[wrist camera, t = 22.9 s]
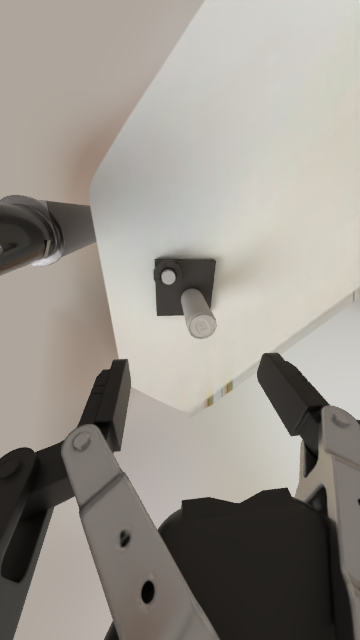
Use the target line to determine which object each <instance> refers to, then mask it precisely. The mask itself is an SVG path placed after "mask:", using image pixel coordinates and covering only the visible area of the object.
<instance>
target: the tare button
mask: <svg viewBox="0 0 360 640" xmlns="http://www.w3.org/2000/svg"><path fill="white" fill-rule="evenodd" d="M161 276H162V281H163V282H164V283H165V284H168V285H169V284H172V283H173V282H174V281H175V273H174V271H173V270H171V269H165V270H164V271H163V272H162V275H161Z"/></svg>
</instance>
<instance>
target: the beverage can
mask: <svg viewBox="0 0 360 640" xmlns="http://www.w3.org/2000/svg"><path fill="white" fill-rule="evenodd" d="M181 304H182V308H183V312H184V316H185V320H186V325H187V328H188V331H189V333H190V334H191V335H192V336H193V337H195V338H198V339H204V338H208V337H209V336H211V335H212V334H213V333H214V332H215V330H216V320H215V317H214V316H213V314H212V312H211V310H210V308H209V306H208V305H207V303H206V301H205V299H204V297H203V295H202V294H201V292H200V291H198V290H197V289H188V290H186V291H185V292H184V293H183V294H182V297H181Z"/></svg>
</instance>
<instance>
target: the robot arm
mask: <svg viewBox="0 0 360 640" xmlns="http://www.w3.org/2000/svg"><path fill="white" fill-rule="evenodd" d="M56 248H57V235H56V231H55V229H54V227H53V225H52V224H51V222H50V221H49V220H48V218H47V217H46V216H45V215H44V214H43V213H41V212H40V211H38V210H37V209H35V208H33V207H31V206H28V205H25V204H5V203H0V275H3V274H6V273H8V272H11V271H13V270H16V269H18V268H21V267H24V266H26V265H29V264H31V263H34V262H37V261H39V260H43V259H46V258H48V257H50V256H51V255H52V254H53V253H54V252H55V250H56ZM257 378H258V381H259V383H260V385H261V387H262V388H263V390H264V392H265V393H266V395H267V397H268V398H269V400H270V402H271V403H272V405H273V407H274V408H275V410H276V412H277V413H278V415H279V417H280V419H281V420H282V422H283V424H284V425H285V427H286V429H287V430H288V432H289V434H290V435H291V436H296V435H300V436H301V438H302V439H303V440H302V442H301V452H300V477H299V484H298V488H297V490H296V494H295V498H294V497H292V496H291V494H290V492H289V490H288V488H281V489H272V490H264V491H261V492H260V493H257V494H256V495H254V496H252V497H250V498H249V499H247V500H245V501H243V502H241V503H233V502H228V501H224V500H219V499H215V498H210V497H207V498H198V499H190V500H183V501H182V506H181V509H179V510H177V511H176V512H174V513H173V514H172V515H170V516H169V517H168V518H167V519H166V520H165V521H164V522H163V523H162V525H161V526H160V527H159V529H158V530H157V529H156V527H155V525H154V523H153V522H152V520H151V518H150V516H149V514H148V513H147V511H146V509H145V507H144V506H143V504H142V502H141V500H140V498H139V496H138V495H137V493H136V491H135V489H134V487H133V486H132V484H131V482H130V480H129V478H128V477H127V475H126V474H125V473H124V472H123V471H122V470H121V468H120V467H119V464H118V462H117V461H116V459H115V457H114V455H113V452H115V451H120V450H121V444H122V438H123V432H124V426H125V419H126V413H127V407H128V401H129V395H130V388H131V377H130V371H129V364H128V359H118V360H113V362H112V366H111V368H110V369H109V370H103V371H102V372H101V373H100V374H99V375H98V376H97V377H96V380H95V383H94V385H93V388H92V390H91V394H90V396H89V399H88V401H87V404H86V406H85V409H84V412H83V414H82V417H81V419H80V422H79V424H78V426H77V428H76V429H74V430H73V431H72V432H71V433H70V434H69V435H68V436H67V437H66V438H65V440H63V441H62V442H60V443H58V444H55V445H53V446H51V447H48V448H45V449H43V450H40V451H37V452H34V451H33V450H32V449H30V448H25V447H24V448H18V449H16V450H13V451H11V452H9V453H7V454H6V455H4V456H3V457H2V458H1V459H0V640H13V638H14V634H15V632H16V628H17V625H18V622H19V619H20V616H21V612H22V609H23V606H24V603H25V599H26V596H27V593H28V590H29V587H30V583H31V580H32V577H33V574H34V571H35V567H36V564H37V561H38V558H39V554H40V551H41V548H42V545H43V542H44V538H45V535H46V532H47V529H48V525H49V522H50V519H51V516H52V513H53V509H54V506H56V505H58V504H60V503H62V502H64V501H66V500H68V499H70V498H72V497H74V496H75V497H76V500H77V503H78V506H79V514H80V519H81V523H82V525H83V529H84V532H85V535H86V538H87V541H88V544H89V547H90V550H91V554H92V556H93V559H94V563H95V566H96V569H97V572H98V575H99V578H100V581H101V584H102V587H103V590H104V593H105V597H106V600H107V602H108V606H109V609H110V612H111V615H112V618H113V622H112V624H111V626H110V628H109V630H108V632H107V634H106V636H105V639H104V640H360V420H356V419H355V418H354V417H353V416H352V415H350V414H349V413H348V412H346V411H344V410H343V409H341V408H338V407H335V406H330V405H329V404H328V402H327V401H326V400H325V399H324V398H323V397H322V396H321V395H320V393H318V391H317V390H316V389H315V388H314V387H313V386H312V385H311V383H310V382H308V380H307V379H306V378H305V377H304V376H303V375H302V373H301V372H300V371H299V370H298V369H297V368H296V367H295V366H294V365H292V364H291V363H289V362H288V361H285V360H284V359H283V358H282V357H281V355H280V354H278V353H264V354H263V355H262V358H261V361H260V365H259V368H258V371H257Z"/></svg>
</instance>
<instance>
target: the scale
mask: <svg viewBox="0 0 360 640" xmlns="http://www.w3.org/2000/svg"><path fill="white" fill-rule="evenodd" d="M215 265H216V261H215V260H183V259H155V269H154V280H155V282H156V304H157V316H173V315H184V312H183V308H182V304H181V297H182V294H183V293H184V292H185V291H186V290H188V289H197V290H198V291H200V292H201V294H202V295H203V297H204V299H205V301H206V303H207V305H208V306H209V308H210V307H211V298H212V290H213V281H214V273H215ZM165 269H171V270H173V271H174V273H175V281H174V282H173V283H172V284H169V285H168V284H165V283H164V282H163V281H162V276H161V275H162V272H163V271H164V270H165Z"/></svg>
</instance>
